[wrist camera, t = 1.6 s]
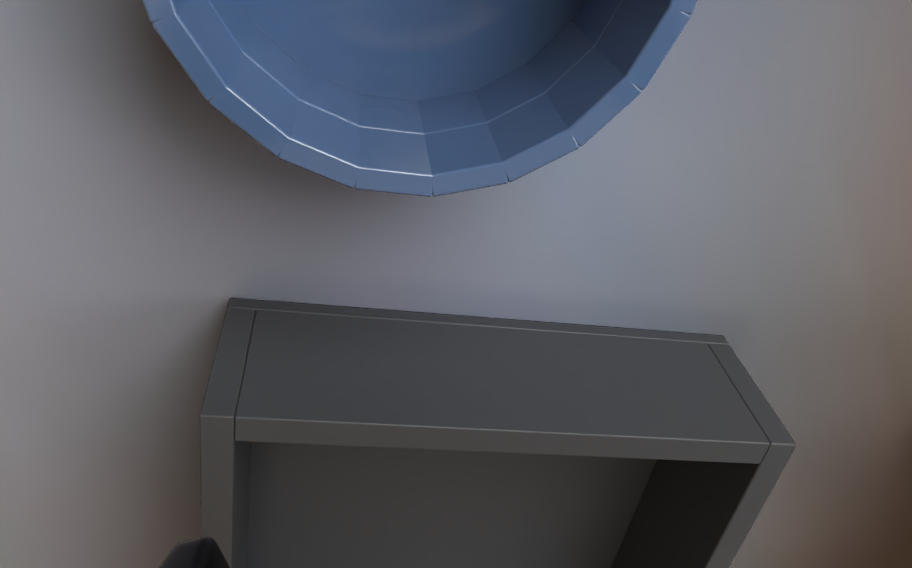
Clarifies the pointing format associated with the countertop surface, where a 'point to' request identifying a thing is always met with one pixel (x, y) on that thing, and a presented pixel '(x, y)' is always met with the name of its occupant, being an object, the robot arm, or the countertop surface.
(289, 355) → the tote
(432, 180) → the rice bowl
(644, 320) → the countertop surface
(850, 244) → the countertop surface
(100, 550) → the countertop surface
